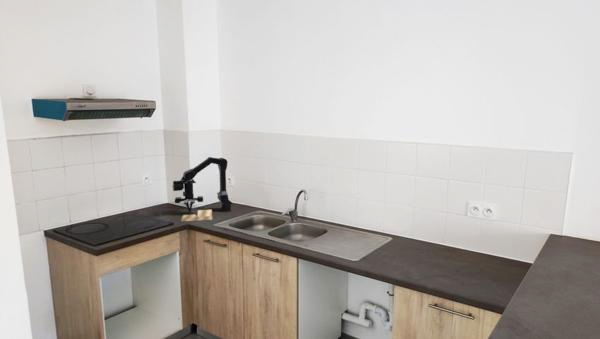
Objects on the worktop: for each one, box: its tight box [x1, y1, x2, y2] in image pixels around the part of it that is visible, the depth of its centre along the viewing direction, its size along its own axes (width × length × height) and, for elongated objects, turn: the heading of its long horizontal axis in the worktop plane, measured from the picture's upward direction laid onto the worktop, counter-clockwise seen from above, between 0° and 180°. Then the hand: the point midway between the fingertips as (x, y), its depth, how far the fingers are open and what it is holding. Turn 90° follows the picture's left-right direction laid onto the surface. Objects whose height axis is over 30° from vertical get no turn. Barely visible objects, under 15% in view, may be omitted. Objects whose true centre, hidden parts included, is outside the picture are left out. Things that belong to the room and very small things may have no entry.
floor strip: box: [180, 215, 213, 222], centre depth 278 cm, size 20×8×1 cm, turn 102°
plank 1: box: [181, 213, 198, 219], centre depth 284 cm, size 10×7×1 cm
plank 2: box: [197, 209, 213, 217], centre depth 286 cm, size 10×7×1 cm
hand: (189, 211), depth 286 cm, fingers closed
